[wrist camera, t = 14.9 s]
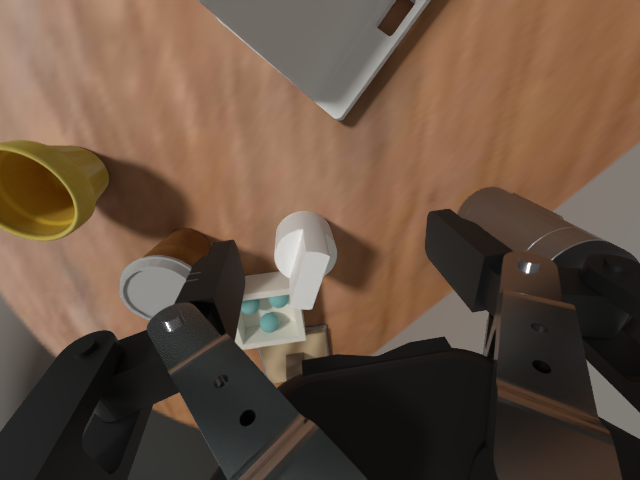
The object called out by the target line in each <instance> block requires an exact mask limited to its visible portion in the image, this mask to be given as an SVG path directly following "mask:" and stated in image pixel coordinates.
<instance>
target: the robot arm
mask: <svg viewBox="0 0 640 480" xmlns="http://www.w3.org/2000/svg"><path fill="white" fill-rule="evenodd" d="M425 250H426V254H427V257H428V258H429V260H430V261H431V262H432V263H433V265H434V266H435V267H436V268H437V269H438V271H439V272H440V273H441V274H442V276H443V277H444V278H445V279H446V281H447V282H448V283H449V284H450V285H451V287H452V288H453V289H454V290H455V292H456V293H457V294H458V295H459V296H460V298H461V299H462V300H463V301H464V302H465V304H466V305H467V306H468V307H469V309H470V310H471V311H472V312H477V311H483V310H487V311H488V312H489V315H488V320H487V325H486V333H485V341H484V348H483V355H482V354H479V353H475V352H472V351H468V350H464V349H458V348H451V346H450V345H449V343H448V341H447V340H446V338H445V337H439V338H433V339H427V340H421V341H415V342H410V343H407V344H405V345H403V346H400V347H398V348H396V349H393V350H391V351H389V352H386V353H384V354H382V355H379V356H357V355H339V354H337V355H331V356H325V357H319V358H313V359H307V360H302V373H299V374H297V375H295V376H293V377H292V378H290V379H288V380H287V381H285V382H284V383H283V384H281V385H280V386H279V387H278V388H276V387H275V385H274V384H273V383H272V382H271V381H270V380H269V379H268V378H267V377H266V376H265V374H264V373H263V372H262V371H261V370H260V369H259V368H258V367H257V366H256V365H255V363H254V362H253V361H252V360H251V359H250V358H249V357H248V356H247V355H246V354H245V352H244V351H243V350H242V349H241V348H240V347H239V346H238V345H237V344H236V343H235V338H236V333H237V327H238V322H239V317H240V311H241V306H242V301H243V296H244V290H245V274H244V270H243V266H242V263H241V260H240V256H239V253H238V249H237V246H236V243H235V241H234V240H228V241H221V242H215V243H214V244H213V246H212V248H211V250H210V253H209V255H208V256H202V257H201V258H200V259H199V260H198V261H197V262H196V263H195V264H194V265H193V267H192V269H191V271H190V273H189V275H188V277H187V279H186V282H185V283H184V285H183V287H182V289H181V291H180V293H179V295H178V297H177V299H176V301H175V303H174V305H171V306H168V307H166V308H164V309H163V310H161V311H160V312H158V313H157V314H156V315H154V316H153V318H152V319H151V320H150V321H149V323H148V325H147V330H145V331H142V332H140V333H137V334H134V335H132V336H129V337H126V338H124V339H121V340H118V339H117V338H116V336H115V335H114V334H113V333H112V332H111V331H106V330H103V331H97V332H93V333H90V334H88V335H85V336H83V337H81V338H79V339H77V340H76V341H74V342H73V343H71V344H70V345H69V346H67V347H66V348H65V349H64V350H63V351H62V352H61V353H60V354H59V355H58V356H57V358H56V359H55V360H54V362H53V363H52V364H51V366H50V367H49V368H48V370H47V371H46V373H45V374H44V375H43V376H42V378H41V379H40V380H39V382H38V383H37V384H36V386H35V387H34V388H33V390H32V391H31V392H30V393H29V395H28V396H27V397H26V399H25V400H24V401H23V403H22V404H21V405H20V407H19V408H18V409H17V411H16V412H15V413H14V415H13V416H12V417H11V419H10V420H9V421H8V423H7V424H6V425H5V426H4V428H3V429H2V431H1V432H0V480H127V479H128V476H129V473H130V470H131V467H132V464H133V461H134V458H135V456H136V453H137V450H138V447H139V444H140V441H141V438H142V435H143V432H144V430H145V427H146V424H147V421H148V418H149V415H150V412H151V409H152V406H153V404H155V403H157V402H159V401H161V400H164V399H166V398H168V397H170V396H172V395H175V394H177V393H179V392H180V394H181V396H182V398H183V400H184V402H185V403H186V405H187V407H188V409H189V411H190V412H191V414H192V416H193V418H194V420H195V422H196V423H197V425H198V427H199V429H200V431H201V433H202V434H203V436H204V438H205V440H206V442H207V444H208V445H209V447H210V449H211V451H212V453H213V454H214V456H215V458H216V460H217V462H218V464H219V466H218V468H217V469H216V471H215V472H214V473H213V475H212V476H211V478H210V479H209V480H640V439H638V438H637V437H635V436H633V435H631V434H629V433H627V432H626V431H624V430H622V429H620V428H618V427H616V426H615V425H612V424H611V423H609V422H607V421H605V420H604V419H602V418H600V417H598V414H597V409H596V404H595V400H594V395H593V390H592V385H591V380H590V376H589V371H588V366H587V361H589V363H590V364H591V365H592V366H594V368H595V369H596V370H597V371H599V373H600V374H601V375H602V376H604V378H606V379H607V380H608V382H609V383H610V384H612V385H613V386H614V387H615V388H616V389H617V390H618V391H619V392H620V393H621V394H622V395H623V396H624V397H625V398H626V399H627V400H628V401H629V402H630V403H631V404H632V405H633V406H634V407H635V408H636V409H637V410H638V411H639V412H640V263H639V262H638V260H637V259H636V258H635V257H634V256H633V255H632V254H630V253H629V252H627V251H626V250H624V249H622V248H620V247H618V246H616V245H614V244H612V243H610V242H607V241H605V240H603V239H601V238H599V237H597V236H595V235H593V234H591V233H589V232H587V231H585V230H583V229H581V228H579V227H577V226H575V225H573V224H571V223H569V222H567V221H565V220H564V219H563V217H562V216H560V215H558V214H556V213H554V212H552V211H550V210H548V209H546V208H543V207H541V206H539V205H537V204H535V203H533V202H531V201H529V200H527V199H525V198H523V197H521V196H519V195H517V194H515V193H512V194H511V193H509V192H507V191H505V190H503V189H500V188H495V187H492V188H486V189H482V190H480V191H478V192H476V193H474V194H473V195H472V196H470V197H469V198H468V199H467V200H466V201H465V203H464V204H463V205H462V207H461V209H460V211H459V213H458V215H457V214H456V213H454V212H453V211H452V210H450V209H443V210H437V211H431V212H429V214H428V217H427V228H426V239H425ZM586 360H587V361H586ZM93 412H94V413H95V414H94V416H93V418H92V420H91V422H90V424H89V426H88V428H87V430H86V432H85V434H84V436H83V432H84V429H85V427H86V425H87V423H88V421H89V419H90V417H91V415H92V413H93ZM82 436H83V438H82Z"/></svg>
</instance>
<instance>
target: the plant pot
mask: <svg viewBox="0 0 640 480" xmlns="http://www.w3.org/2000/svg"><path fill="white" fill-rule="evenodd" d="M108 184H109V174H108V171H107V168H106V166H105V165H104V163H103V162H102V161H101V160H100V159H99V158H98V157H97V156H96V155H95V154H93V153H92V152H90V151H88V150H86V149H84V148H81V147H77V146H47V145H44V144H41V143H38V142H34V141H26V140H17V141H8V142H2V143H0V229H2V230H4V231H6V232H8V233H11V234H13V235H16V236H19V237H22V238H25V239H30V240H37V241H51V240H57V239H60V238H63V237H65V236H67V235H69V234H70V233H72V232H73V231H75V230H76V229H78V228H79V227H80V226H82V225H83V224H84V223H85V222H86V221H87V220H88V219H89V218H90V217H91V216H92V214H93V212H94V210H95V205H96V201H97V200H98V199H99V198H100V196H101V195H102V194H103V192H104V191H105V190H106V188H107V186H108Z"/></svg>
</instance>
